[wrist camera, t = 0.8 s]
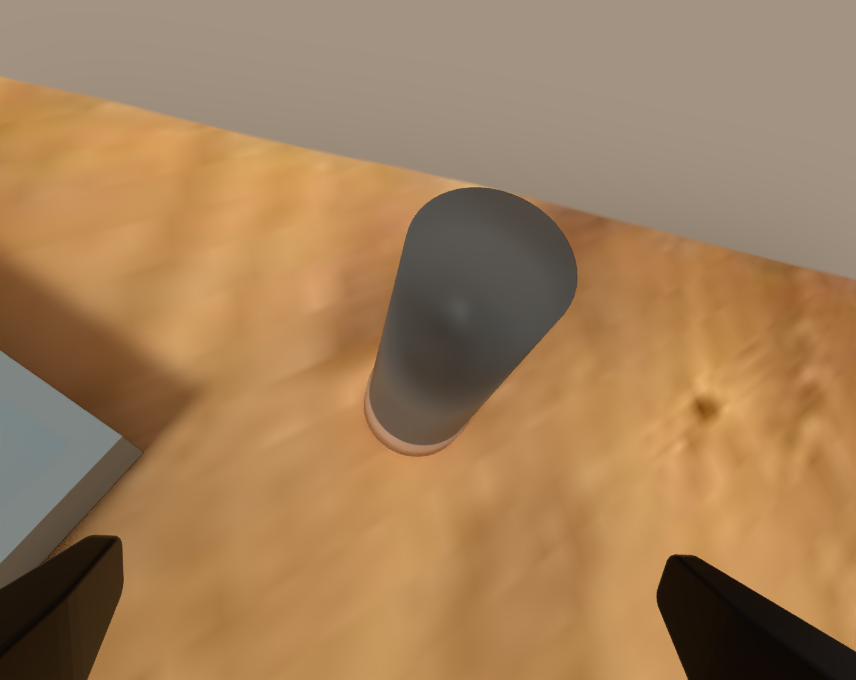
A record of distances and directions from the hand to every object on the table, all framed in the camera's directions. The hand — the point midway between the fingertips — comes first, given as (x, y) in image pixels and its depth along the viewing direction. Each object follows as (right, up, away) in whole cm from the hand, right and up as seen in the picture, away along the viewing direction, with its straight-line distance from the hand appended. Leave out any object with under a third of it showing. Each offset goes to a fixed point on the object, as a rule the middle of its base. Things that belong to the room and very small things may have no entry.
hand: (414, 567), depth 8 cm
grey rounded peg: (0, +1, +15) cm, 15 cm away
